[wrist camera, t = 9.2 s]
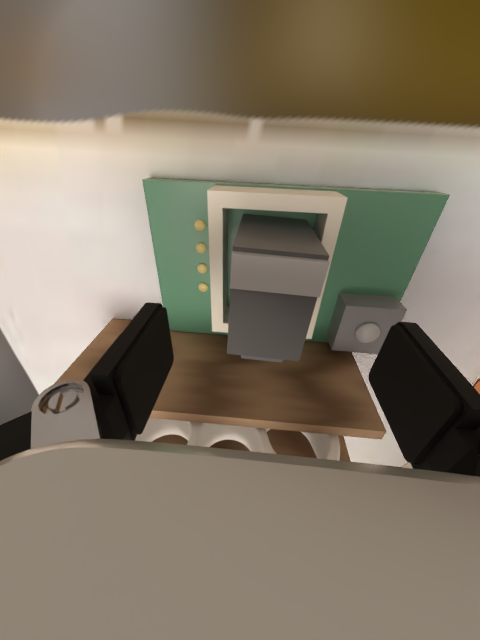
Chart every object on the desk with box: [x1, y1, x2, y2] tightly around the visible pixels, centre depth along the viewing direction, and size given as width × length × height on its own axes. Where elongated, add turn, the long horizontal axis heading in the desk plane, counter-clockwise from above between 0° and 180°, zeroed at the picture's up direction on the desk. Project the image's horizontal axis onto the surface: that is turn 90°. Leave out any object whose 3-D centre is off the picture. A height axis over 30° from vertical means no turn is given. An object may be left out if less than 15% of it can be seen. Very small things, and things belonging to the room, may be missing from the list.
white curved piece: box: [135, 418, 340, 461], centre depth 18 cm, size 3×18×15 cm, turn 88°
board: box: [143, 178, 449, 354], centre depth 17 cm, size 18×11×4 cm, turn 88°
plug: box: [227, 214, 330, 363], centre depth 15 cm, size 4×7×7 cm, turn 176°
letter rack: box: [55, 319, 386, 462], centre depth 20 cm, size 21×7×9 cm, turn 88°
